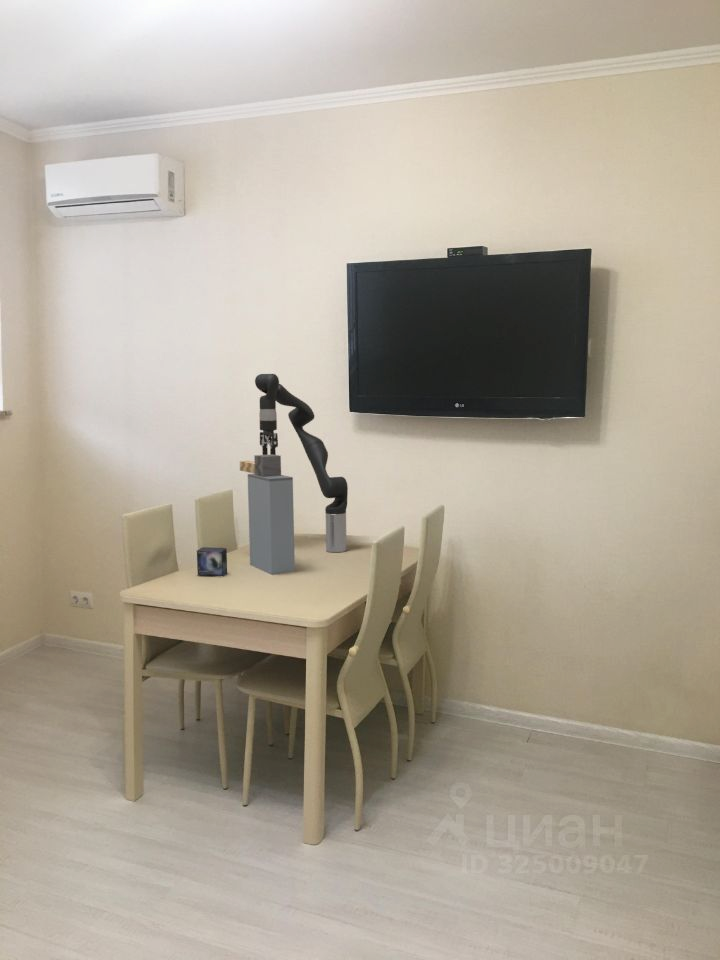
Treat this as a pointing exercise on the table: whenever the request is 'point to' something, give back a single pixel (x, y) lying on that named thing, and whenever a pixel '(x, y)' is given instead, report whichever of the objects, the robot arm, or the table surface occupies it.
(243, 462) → the peg
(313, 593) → the table surface
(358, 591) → the table surface
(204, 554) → the small box
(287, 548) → the stand
